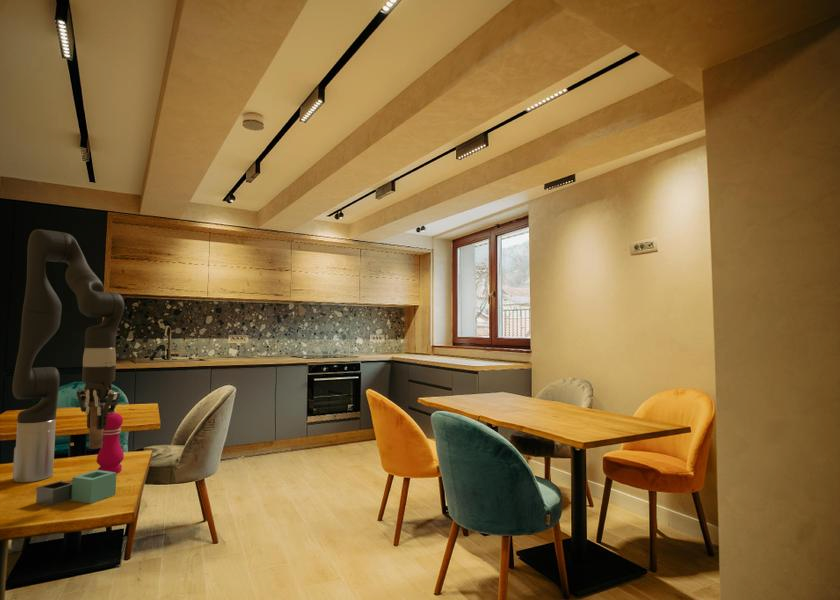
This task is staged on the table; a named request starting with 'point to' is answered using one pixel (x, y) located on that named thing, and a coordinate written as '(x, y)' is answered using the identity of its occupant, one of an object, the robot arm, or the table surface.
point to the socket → (93, 486)
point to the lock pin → (94, 428)
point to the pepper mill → (111, 445)
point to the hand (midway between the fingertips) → (96, 428)
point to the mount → (54, 493)
